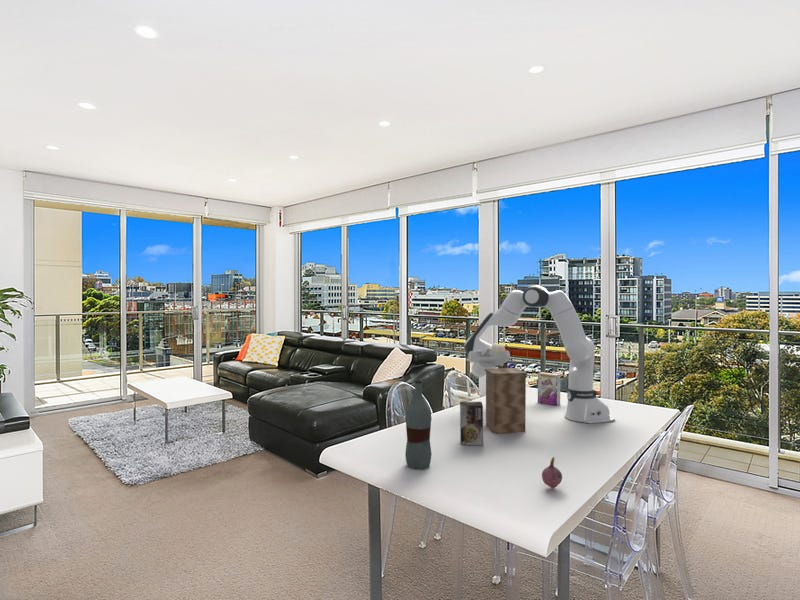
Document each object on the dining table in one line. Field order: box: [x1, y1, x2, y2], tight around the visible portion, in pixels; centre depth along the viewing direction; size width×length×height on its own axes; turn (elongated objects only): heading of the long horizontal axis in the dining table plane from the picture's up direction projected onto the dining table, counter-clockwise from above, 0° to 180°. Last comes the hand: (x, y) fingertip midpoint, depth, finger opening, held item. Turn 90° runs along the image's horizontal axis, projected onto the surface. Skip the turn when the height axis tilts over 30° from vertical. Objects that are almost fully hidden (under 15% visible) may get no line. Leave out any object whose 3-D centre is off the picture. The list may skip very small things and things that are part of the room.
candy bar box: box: [537, 371, 562, 406], centre depth 256 cm, size 11×5×16 cm, turn 49°
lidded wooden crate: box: [485, 367, 528, 434], centre depth 208 cm, size 15×13×26 cm
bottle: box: [404, 379, 432, 470], centre depth 164 cm, size 9×9×30 cm
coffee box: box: [459, 401, 484, 446], centre depth 189 cm, size 9×6×16 cm
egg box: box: [486, 342, 507, 358], centre depth 220 cm, size 4×18×6 cm, turn 7°
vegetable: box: [541, 456, 563, 489], centre depth 145 cm, size 6×6×10 cm
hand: (493, 350), depth 225 cm, fingers closed on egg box, 4 cm apart
